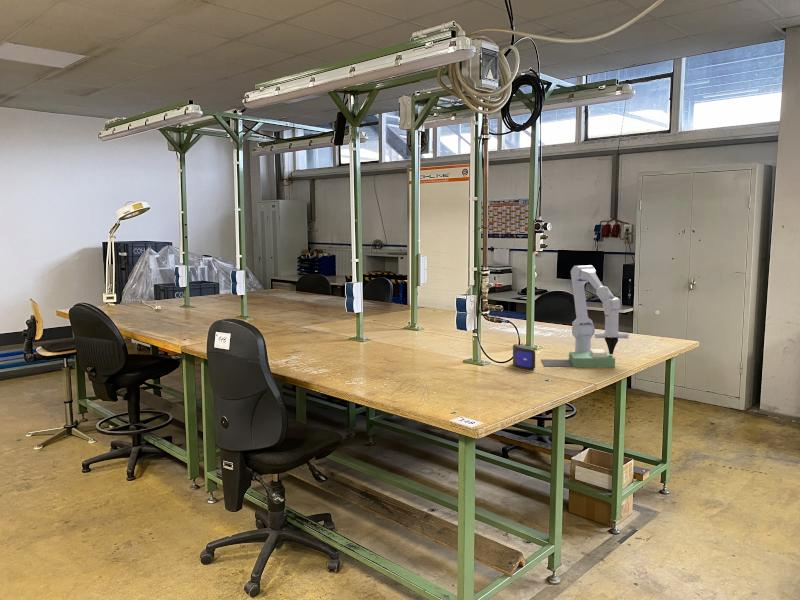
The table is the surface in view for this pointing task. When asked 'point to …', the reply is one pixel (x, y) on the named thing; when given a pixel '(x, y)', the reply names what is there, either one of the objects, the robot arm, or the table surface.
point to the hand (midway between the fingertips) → (611, 353)
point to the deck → (590, 360)
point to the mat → (556, 363)
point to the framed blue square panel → (523, 357)
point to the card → (598, 352)
